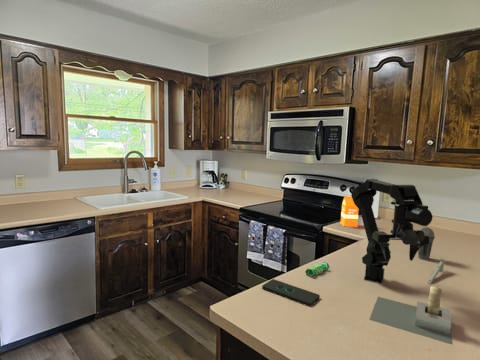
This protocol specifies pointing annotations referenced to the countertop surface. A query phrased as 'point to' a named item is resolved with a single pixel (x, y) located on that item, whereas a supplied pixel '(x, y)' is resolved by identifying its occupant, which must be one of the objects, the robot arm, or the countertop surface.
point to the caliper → (437, 270)
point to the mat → (403, 318)
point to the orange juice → (349, 212)
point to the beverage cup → (426, 250)
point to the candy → (317, 269)
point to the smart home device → (291, 292)
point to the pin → (434, 300)
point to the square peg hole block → (433, 319)
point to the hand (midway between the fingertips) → (398, 260)
